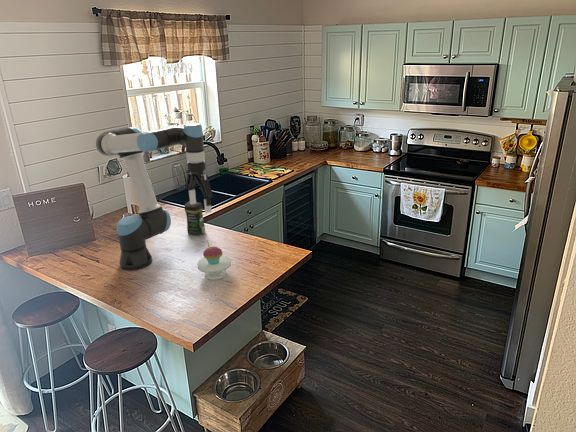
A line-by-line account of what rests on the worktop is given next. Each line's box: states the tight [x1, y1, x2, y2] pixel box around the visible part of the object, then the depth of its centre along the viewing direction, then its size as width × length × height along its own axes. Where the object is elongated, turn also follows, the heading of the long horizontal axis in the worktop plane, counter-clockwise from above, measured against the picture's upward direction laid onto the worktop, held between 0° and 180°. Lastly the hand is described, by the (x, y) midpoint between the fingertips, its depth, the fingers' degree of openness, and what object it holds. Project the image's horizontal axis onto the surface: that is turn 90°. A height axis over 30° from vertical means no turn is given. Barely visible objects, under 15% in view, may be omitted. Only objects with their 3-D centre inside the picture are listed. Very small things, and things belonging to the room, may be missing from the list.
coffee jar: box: [184, 200, 206, 236], centre depth 244 cm, size 10×8×19 cm
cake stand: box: [197, 254, 232, 281], centre depth 200 cm, size 15×15×6 cm
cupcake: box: [202, 239, 224, 265], centre depth 197 cm, size 9×8×12 cm
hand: (200, 207), depth 192 cm, fingers open, 13 cm apart
